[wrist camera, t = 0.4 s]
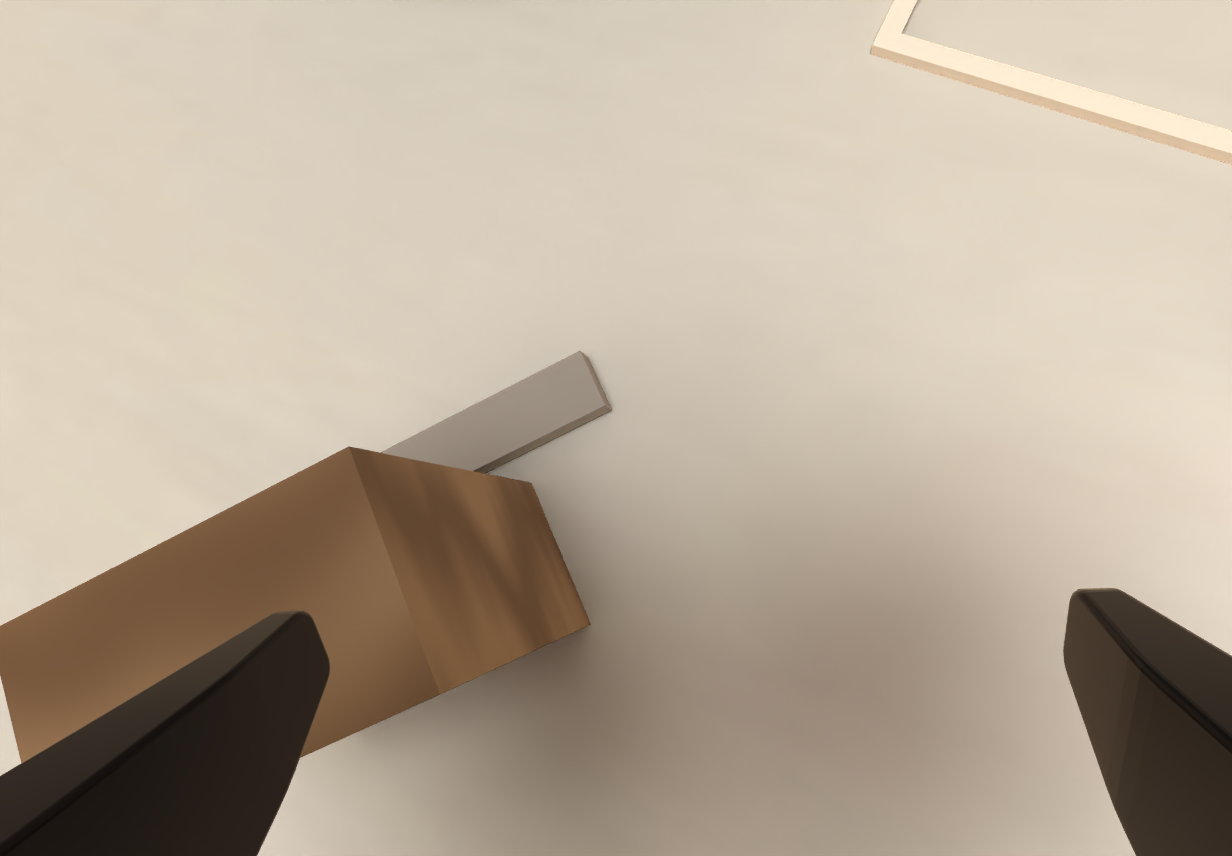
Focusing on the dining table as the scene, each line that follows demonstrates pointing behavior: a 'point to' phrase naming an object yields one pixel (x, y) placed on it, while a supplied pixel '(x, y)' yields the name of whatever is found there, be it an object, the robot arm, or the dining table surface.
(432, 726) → the dining table surface
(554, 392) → the strip
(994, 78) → the photo frame
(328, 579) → the walnut block
